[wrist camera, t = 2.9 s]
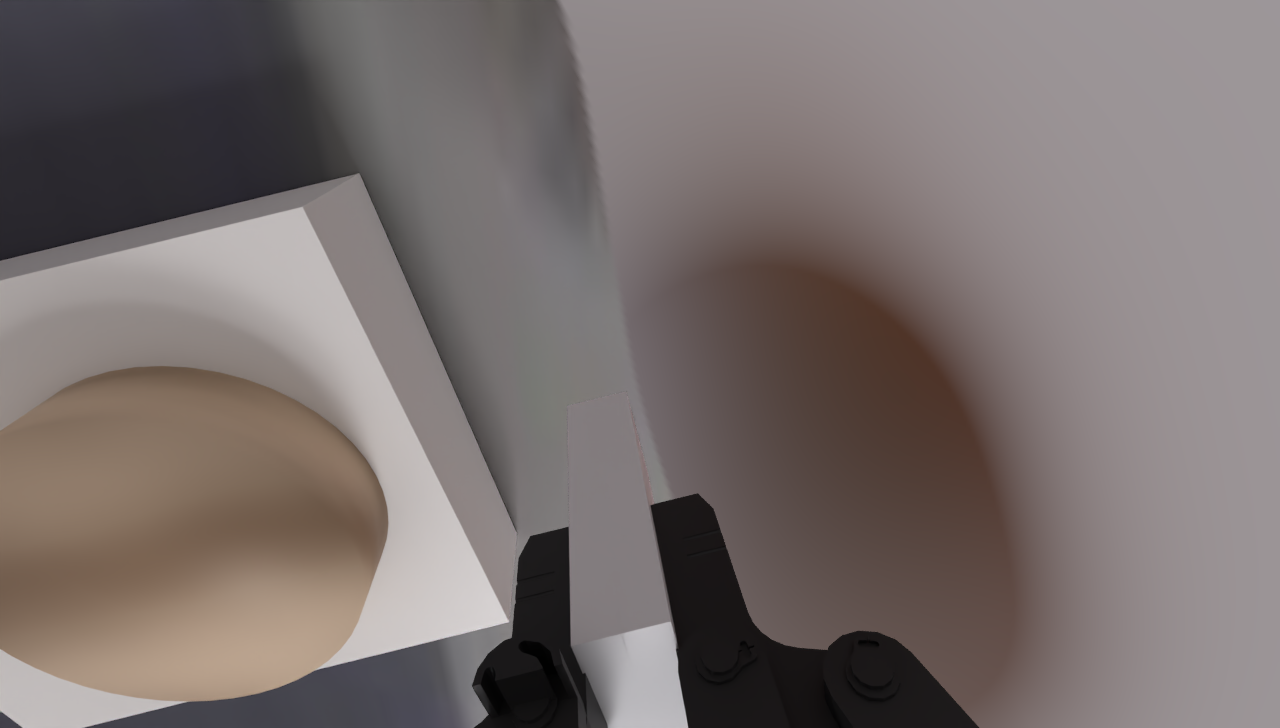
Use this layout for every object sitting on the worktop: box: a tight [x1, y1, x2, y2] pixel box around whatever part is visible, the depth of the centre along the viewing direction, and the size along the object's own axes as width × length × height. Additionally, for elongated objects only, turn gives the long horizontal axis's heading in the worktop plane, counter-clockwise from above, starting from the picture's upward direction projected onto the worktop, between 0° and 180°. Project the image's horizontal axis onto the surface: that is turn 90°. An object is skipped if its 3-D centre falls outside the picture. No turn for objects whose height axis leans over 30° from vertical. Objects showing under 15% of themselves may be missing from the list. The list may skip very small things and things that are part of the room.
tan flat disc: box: [0, 366, 389, 701], centre depth 15 cm, size 9×9×2 cm
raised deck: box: [0, 173, 517, 728], centre depth 17 cm, size 14×16×4 cm
